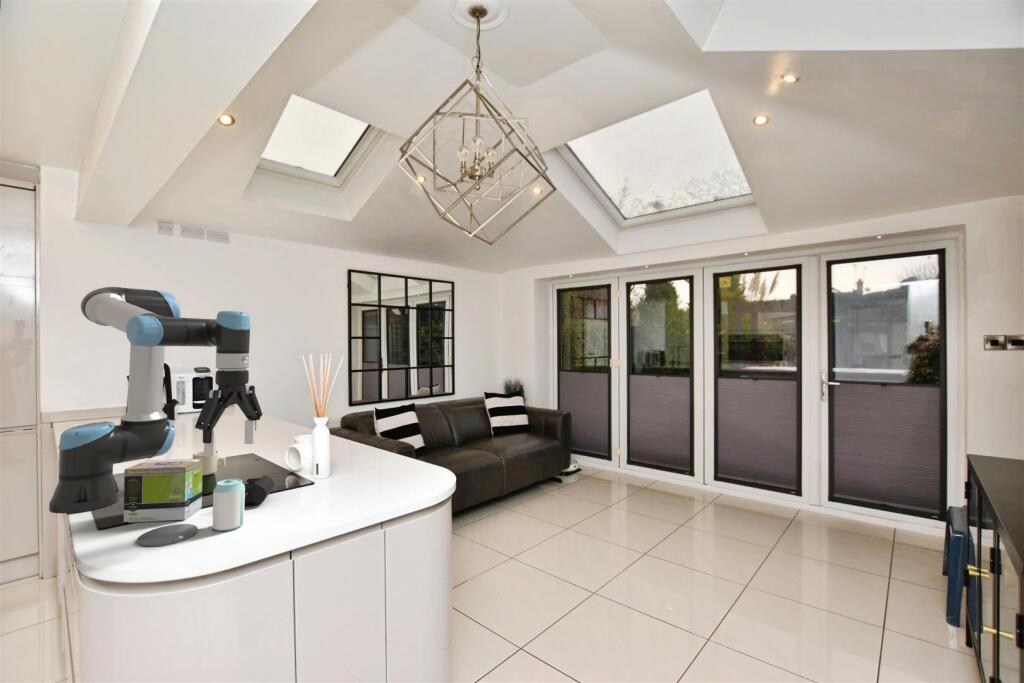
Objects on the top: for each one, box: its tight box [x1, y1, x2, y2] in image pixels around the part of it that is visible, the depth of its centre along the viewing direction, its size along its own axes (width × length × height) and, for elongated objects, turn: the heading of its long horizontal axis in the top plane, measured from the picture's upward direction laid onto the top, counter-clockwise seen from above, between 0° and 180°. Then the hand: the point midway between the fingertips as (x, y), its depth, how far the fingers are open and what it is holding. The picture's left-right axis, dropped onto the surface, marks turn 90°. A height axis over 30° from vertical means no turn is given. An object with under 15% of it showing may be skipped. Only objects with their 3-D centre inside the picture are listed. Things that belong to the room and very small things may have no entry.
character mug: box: [192, 450, 226, 495], centre depth 144 cm, size 11×7×13 cm, turn 109°
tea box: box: [123, 458, 203, 523], centre depth 126 cm, size 15×10×15 cm, turn 100°
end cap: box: [243, 475, 275, 509], centre depth 138 cm, size 10×7×7 cm
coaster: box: [136, 523, 198, 548], centre depth 113 cm, size 12×12×1 cm
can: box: [212, 478, 246, 532], centre depth 119 cm, size 7×7×12 cm
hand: (230, 449), depth 119 cm, fingers open, 13 cm apart
